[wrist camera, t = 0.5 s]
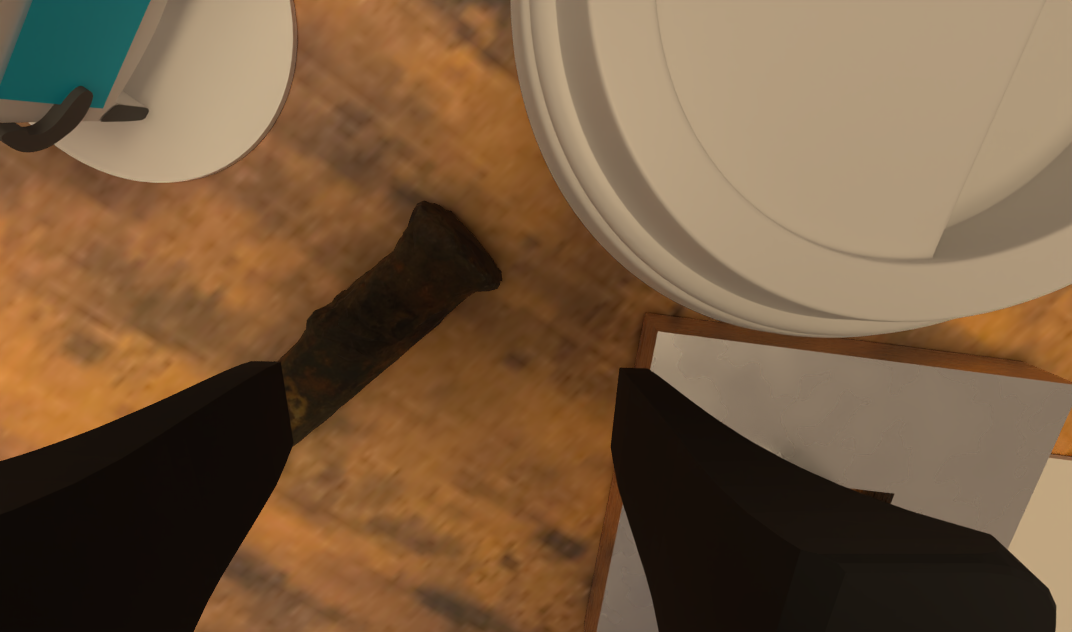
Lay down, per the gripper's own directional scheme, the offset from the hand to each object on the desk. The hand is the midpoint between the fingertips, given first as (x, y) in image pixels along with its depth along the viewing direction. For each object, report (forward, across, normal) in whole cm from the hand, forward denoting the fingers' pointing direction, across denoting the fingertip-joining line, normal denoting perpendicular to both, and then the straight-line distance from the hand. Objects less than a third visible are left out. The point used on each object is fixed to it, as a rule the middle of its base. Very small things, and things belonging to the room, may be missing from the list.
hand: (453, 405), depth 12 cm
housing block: (+9, -14, +10) cm, 19 cm away
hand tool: (+11, +7, +6) cm, 14 cm away
